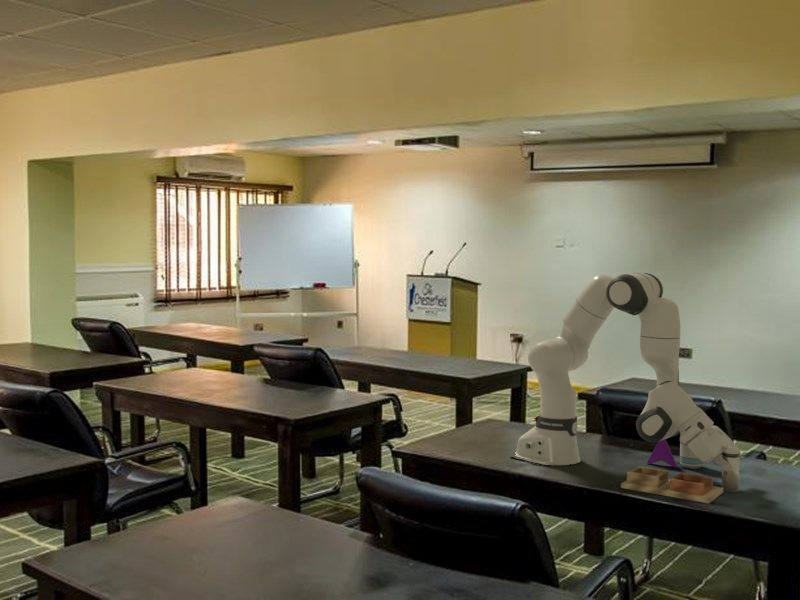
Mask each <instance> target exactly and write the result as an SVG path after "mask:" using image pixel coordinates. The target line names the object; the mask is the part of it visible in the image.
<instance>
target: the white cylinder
mask: <svg viewBox="0 0 800 600" xmlns="http://www.w3.org/2000/svg"><path fill="white" fill-rule="evenodd" d="M722 448H723V453H722V454H721V456H722V457H723V459H724V460H725V461H726V462H727V463H728V462H729V463H730V465H731V466H732V469H731V470H729V471H728V472H726V471H725V470H724V469H723V468H722V467H721V487H722V488H723V492H727V493H732V492H734V493H739V492H740V457H741V450H740V447H738V446H736V445H733V446H722Z"/></svg>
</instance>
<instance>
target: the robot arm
mask: <svg viewBox="0 0 800 600" xmlns="http://www.w3.org/2000/svg"><path fill="white" fill-rule="evenodd" d="M663 294H664V287H663V284H662V282H661V280H660V279H659V278H658V277H656V276H655V275H653V274H651V273H648V272H631V273H627V274H626V273H624V274H620V275H618V276H616V277H614V278H613V277H612V276H610V275H607V274H602V273H600V274H598V275H595V276H594V277H592V279H591V280H590V281H589V282H588V283H587V284H586V285H584V287H583V288H582V289H581V291H580V292H579V293H578V295H577V296H576V297H575V299H574V301H573V302H572V303H571V305H570V306H569V308H568V310H567V311H566V313H565V314H564V316H563V319H562V322H563V325H562V327H561V330H560V332H559V334H558V335H557V336H555V338H551V339H545V340H542V341H539V342H538V343H536V344H535V345H533V346H531V348H530V350H529V351H528V356H527V360H528V364H529V366H530V368H531V370H532V371H534V373H535V376H536V379H537V382H538V387H539V393H540V397H539V398H540V414H539V415H537V416H536V417H533V418H532V419H533V423H535V426H533V427H532V428H530V429H529V430H528V431H526V432H525V433H524V434H522V435H521V436H520V437H519V438H518V442H517V445H516V450H517V451H516V452H515V454H516V455H515V456H517V457H520V458H524V459H527V460H530V461H534V462H537V463H541V464H545V465H550V464H551V466H570V464H571V465H576V464H579V463H581V460H582V459H581V455H580V453H579V452H580V451H579V447H578V439H577V434H578V417H577V416H576V414H577V393H576V390H575V389H574V388H573V386H572V383H571V380H570V375H569V372H571V371H572V372H573V371H575V370H577V369H578V368H580V367H581V366H583V365H584V364H585V363H586V362H587V360H588V357H589V355H588V354H589V349H590V347H591V344H592V342H593V340H594V337H595V336H596V334H597V333H598V332H599V330H600V328H601V327H602V326H603V324H604V322H606V320H607V318H609V315H610V314H611V313H612V311H613V310H614V309H616V310H619V311H622V312H624V313H627V314H629V315H631V316H638V317H639V320H640V332H639V333H640V335H639V348H640V355H641V358H642V360H643V361H644V362H645V363H646V364H647V365H648V366H650V367H652V369H653V370H654V372H655V375H656V385H655V386H653V387H652V388H650V390H649V392H648V398H647V400H646V404H645V406H644V408H643V409H642V412H641V413H640V414H639V416H638V417H637V419H636V421H635V425H636V427H635V428H636V431H637V433H638V435H639V437H641V438H642V439H643V440H644V441H645V442H648V443H658V442H660V441H662V440H665V439H666V440H667V439H669V438H672V437H675V436H677V435H679V436H680V437H679V442H680V441H681V442H682V443H683V444H684V445H686V444H687V446H688V448H689V449H690V450H691V451H692V452H693V453H694V454H695V455H696V456H697V457H698V458H699V459H700V460H701V461H702V462H703V463H704V465H708V464H709V463H711V462H712V461H714V463H715V464H716V465H718V466H719V467H721V469H722V468H723V469H724V470H725V471H726V472H728V471H729V470H731V469H732V466H731V465H730V463H729V462H728V463H727V462H726V461H725V460H724V459H723V457H722V453H723V448H722V446H735V444H734V442H733V440H732V439H731V438H730V436H728V434H726V432H725V431H723V430H722V429H721V428H720V427H719V426H717V425H714V421H713V420H712V419H711V418H710V417H709V416H708V415H707V414H706V412H705V411H704V410H703V409H702V408H700V407H699V406H697V404H695V402H694V401H693V398H692V397H691V396H690V395H689V394H688V393H687V392H686V391H685V390H684V389H683V388H682V387H681V386H680V371H679V367H680V366H679V365H680V363H679V361H680V359H679V358H680V357H679V356H680V350H681V349H680V347H681V346H680V345H681V317H680V311H679V307H678V304H677V303H676V302H675V301H673V300H672V299H669V298H665V297H663ZM555 464H556V465H555Z"/></svg>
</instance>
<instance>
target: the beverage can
mask: <svg viewBox="0 0 800 600" xmlns="http://www.w3.org/2000/svg"><path fill="white" fill-rule="evenodd" d="M679 442H680V443H679V447H680V448H679V463H680V465H681V466H683V468H686V469H689V468H690V469H691V470H698V468H699V469H701V468H702V467H703V466H704V465H705V463H703V462H702V461H701V460H700V459H699V458H698V457H697V456H696V455H695V454H694V453H693V452H692V451H691V450H690V449H689V448H688V446H687V444H686V445H684V444H683V443H682V442H681V441H680V440H679Z"/></svg>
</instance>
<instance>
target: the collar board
mask: <svg viewBox="0 0 800 600" xmlns="http://www.w3.org/2000/svg"><path fill="white" fill-rule="evenodd" d="M620 488H621V489H627V490H631V491H632V490H633V491H637V492H643V493H647V494H648V493H649V494H655V495H661V496H666V497H670V498H676V499H681V500H688V501H693V502H700V503H703V504H710V503H712V502H713V501H714V500H716V498H718V497H719V496H720V495H722V494H723V493H724V491H723V488H722V486H721V487H720V486H715V485H714V478H713V477H712V476H711V477H710V476H703V475H698V474H690V473H686V472H685V473H684V472H679V473H678V474H676V475H675V476H673V477H671V478H670V470H668V469H667V470H666V469H661V468H654V467H647V466H641V465H638V466H636V467H634V468H633V469H631V470H629V471H627V472H626V480H624V481H623V482H621V483H620Z"/></svg>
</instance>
